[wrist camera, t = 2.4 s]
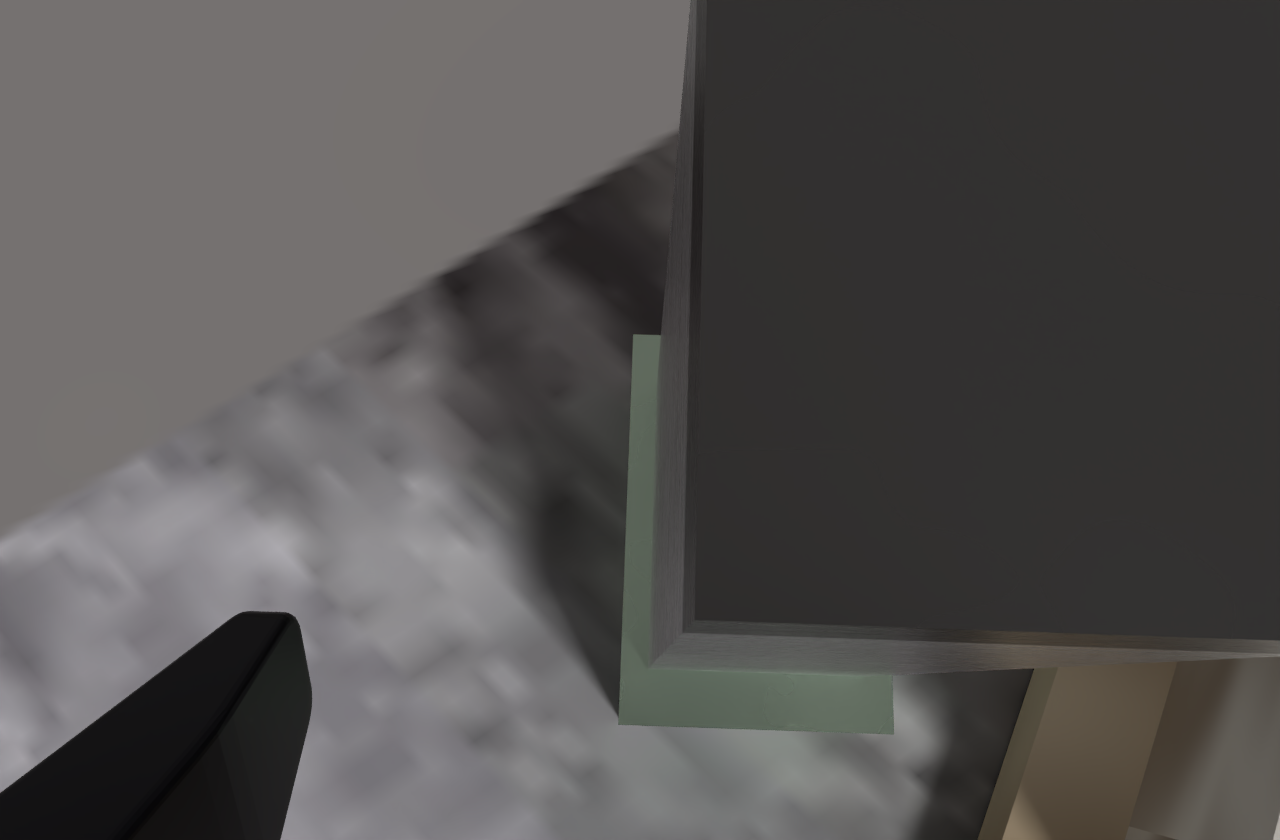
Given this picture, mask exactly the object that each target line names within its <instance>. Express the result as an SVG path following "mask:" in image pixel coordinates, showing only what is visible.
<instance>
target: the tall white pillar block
mask: <svg viewBox="0 0 1280 840" xmlns="http://www.w3.org/2000/svg"><path fill="white" fill-rule="evenodd" d="M680 116H681V117H680V126H679V138H678V149H677V160H676V171H675V183H674V194H673V205H672V216H671V227H670V239H669V250H668V261H667V272H666V284H665V295H664V306H663V317H662V328H661V335H638V334H633V353H632V380H631V406H630V432H629V459H628V485H627V511H626V538H625V564H624V590H623V617H622V643H621V669H620V696H619V722H618V725H642V726H671V727H699V728H727V729H756V730H784V731H812V732H841V733H869V734H894V719H893V686H892V675H907V674H928V673H949V672H969V671H990V670H1011V669H1031V668H1052V667H1073V666H1094V665H1114V664H1135V663H1156V662H1176V661H1197V660H1218V659H1239V658H1259V657H1280V0H691V3H690V15H689V26H688V37H687V48H686V60H685V70H684V83H683V93H682V104H681V115H680Z"/></svg>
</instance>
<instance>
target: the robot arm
mask: <svg viewBox="0 0 1280 840" xmlns="http://www.w3.org/2000/svg"><path fill="white" fill-rule="evenodd" d="M311 708H312V688H311V682H310V677H309V672H308V666H307V661H306V655H305V650H304V645H303V639H302V634H301V629H300V625H299V623H298V621H297V619H296V617H294V616H293V615H291V614H289V613H286V612H260V611H247V612H242V613H239V614H237V615H235V616H234V617H232V618H231V619H229V620H228V621H227V622H225V623H224V624H223V625H221V626H220V627H219V628H217V629H216V630H215V631H214V632H212V633H211V634H210V635H208V636H207V637H206V638H204V639H203V640H202V641H200V642H199V643H198V644H196V645H195V646H194V647H192V648H191V649H190V650H188V651H187V652H186V653H184V654H183V655H182V656H181V657H179V658H178V659H177V660H175V661H174V662H173V663H171V664H170V665H169V666H167V667H166V668H165V669H163V670H162V671H161V672H159V673H158V674H157V675H155V676H154V677H153V678H151V679H150V680H149V681H148V682H146V683H145V684H144V685H142V686H141V687H140V688H138V689H137V690H136V691H134V692H133V693H132V694H130V695H129V696H128V697H126V698H125V699H124V700H122V701H121V702H120V703H118V704H117V705H116V706H115V707H113V708H112V709H111V710H109V711H108V712H107V713H105V714H104V715H103V716H101V717H100V718H99V719H97V720H96V721H95V722H93V723H92V724H91V725H89V726H88V727H87V728H85V729H84V730H83V731H82V732H80V733H79V734H78V735H76V736H75V737H74V738H72V739H71V740H70V741H68V742H67V743H66V744H64V745H63V746H62V747H60V748H59V749H58V750H56V751H55V752H54V753H52V754H51V755H50V756H48V757H47V758H46V759H45V760H43V761H42V762H41V763H39V764H38V765H37V766H35V767H34V768H33V769H31V770H30V771H29V772H27V773H26V774H25V775H23V776H22V777H21V778H19V779H18V780H17V781H15V782H14V783H13V784H12V785H10V786H9V787H8V788H6V789H5V790H4V791H2V792H1V793H0V840H280V839H281V835H282V831H283V827H284V823H285V819H286V814H287V810H288V806H289V802H290V798H291V794H292V790H293V786H294V782H295V778H296V774H297V770H298V766H299V762H300V758H301V754H302V749H303V745H304V741H305V737H306V733H307V729H308V725H309V721H310V716H311Z"/></svg>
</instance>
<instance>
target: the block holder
mask: <svg viewBox="0 0 1280 840" xmlns="http://www.w3.org/2000/svg"><path fill="white" fill-rule="evenodd" d="M978 840H1280V657H1259V658H1239V659H1218V660H1197V661H1176V662H1156V663H1135V664H1114V665H1094V666H1073V667H1052V668H1034V671H1033V674H1032V677H1031V680H1030V683H1029V686H1028V689H1027V692H1026V695H1025V698H1024V701H1023V704H1022V707H1021V710H1020V713H1019V716H1018V719H1017V722H1016V725H1015V728H1014V731H1013V734H1012V737H1011V740H1010V743H1009V746H1008V749H1007V752H1006V755H1005V758H1004V761H1003V764H1002V767H1001V770H1000V773H999V776H998V779H997V782H996V785H995V788H994V791H993V794H992V797H991V800H990V803H989V806H988V809H987V812H986V815H985V818H984V821H983V824H982V828H981V831H980V834H979V837H978Z"/></svg>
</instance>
